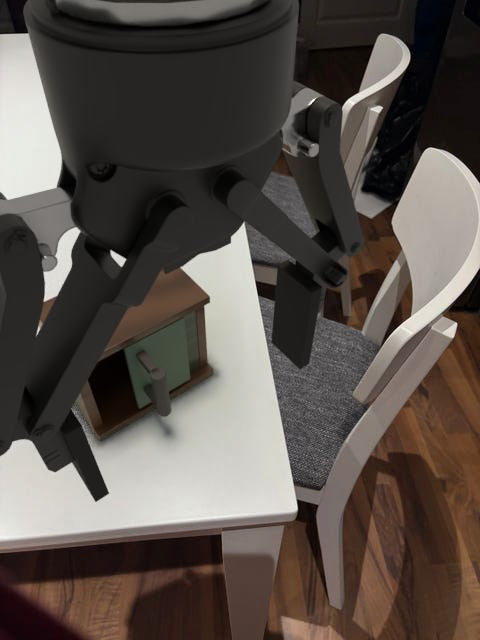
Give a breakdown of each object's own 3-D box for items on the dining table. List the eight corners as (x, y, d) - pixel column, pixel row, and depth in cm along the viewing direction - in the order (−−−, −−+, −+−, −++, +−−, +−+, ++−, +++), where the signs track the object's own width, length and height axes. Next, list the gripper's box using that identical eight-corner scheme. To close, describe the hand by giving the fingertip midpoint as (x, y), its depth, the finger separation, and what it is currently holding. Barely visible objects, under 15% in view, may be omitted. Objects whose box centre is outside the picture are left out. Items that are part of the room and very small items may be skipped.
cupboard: (213, 373, 67) (210, 296, 57) (100, 441, 60) (72, 367, 50) (171, 327, 72) (161, 248, 62) (63, 384, 66) (31, 307, 55)
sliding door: (210, 402, 63) (207, 341, 54) (159, 435, 60) (146, 376, 51) (188, 375, 65) (181, 314, 57) (137, 405, 62) (122, 345, 54)
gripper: (-494, 207, 7) (9, 617, 23) (545, -62, 17) (397, 347, 33) (-446, 36, 11) (-46, 485, 27) (375, -100, 21) (315, 281, 37)
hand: (199, 409), depth 30 cm, fingers open, 13 cm apart
